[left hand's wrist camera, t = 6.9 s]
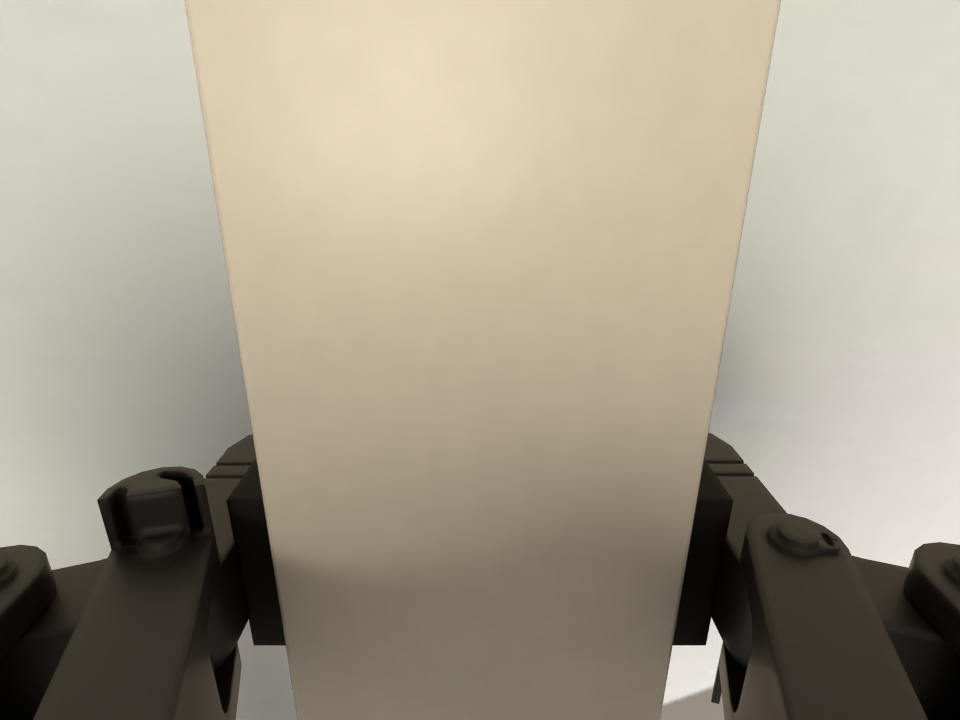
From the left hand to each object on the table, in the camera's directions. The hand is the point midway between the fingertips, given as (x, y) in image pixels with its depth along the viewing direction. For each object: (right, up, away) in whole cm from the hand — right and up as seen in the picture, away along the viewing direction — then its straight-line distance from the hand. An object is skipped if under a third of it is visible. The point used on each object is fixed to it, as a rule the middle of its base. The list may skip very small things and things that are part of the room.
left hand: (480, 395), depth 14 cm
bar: (0, +17, -6) cm, 18 cm away
